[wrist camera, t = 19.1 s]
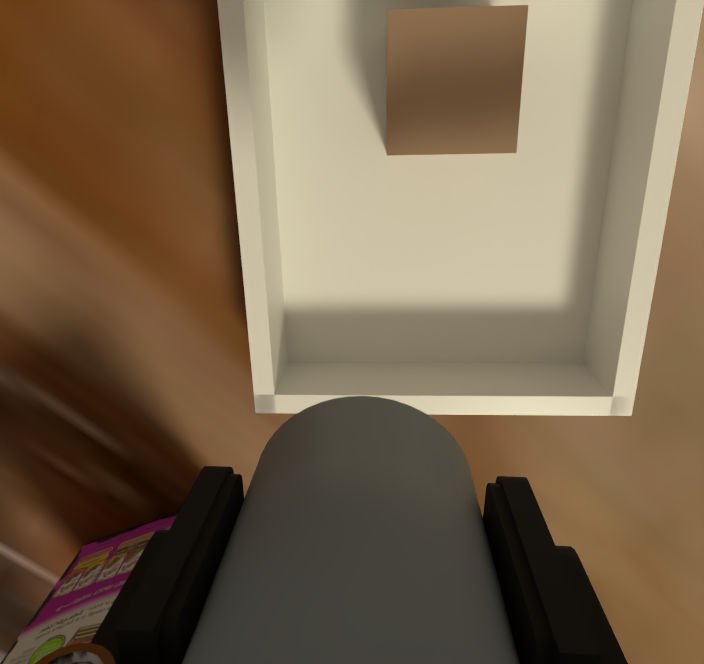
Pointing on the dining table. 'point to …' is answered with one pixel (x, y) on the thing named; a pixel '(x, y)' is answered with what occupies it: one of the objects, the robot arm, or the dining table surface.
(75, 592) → the candy bar box
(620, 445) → the dining table surface
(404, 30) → the walnut cube
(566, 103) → the tote
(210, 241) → the dining table surface
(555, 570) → the robot arm
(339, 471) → the slate capsule
